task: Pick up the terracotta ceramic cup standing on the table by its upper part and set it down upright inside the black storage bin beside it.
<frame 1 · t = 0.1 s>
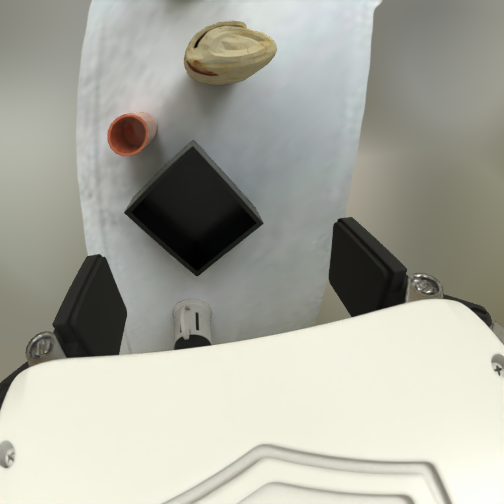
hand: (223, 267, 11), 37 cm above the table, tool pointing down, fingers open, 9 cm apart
cup: (139, 129, 39), on the table
black storage bin: (194, 202, 47), on the table
food model: (218, 69, 37), on the table
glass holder: (189, 304, 59), on the table
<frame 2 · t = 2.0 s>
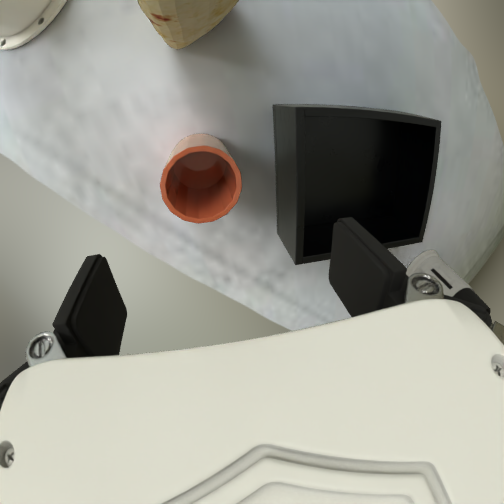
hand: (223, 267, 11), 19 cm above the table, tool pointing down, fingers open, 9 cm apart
cup: (199, 162, 26), on the table
black storage bin: (344, 167, 30), on the table
food model: (197, 12, 18), on the table
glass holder: (414, 265, 41), on the table
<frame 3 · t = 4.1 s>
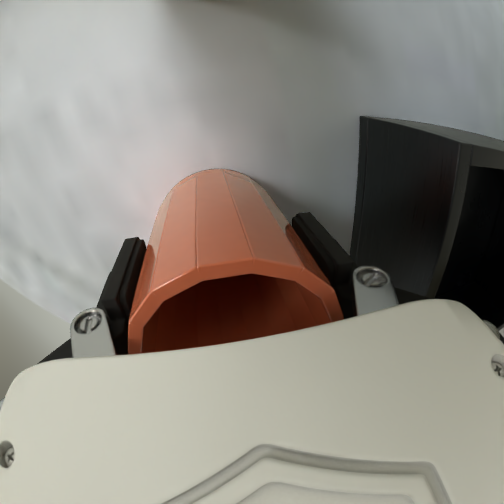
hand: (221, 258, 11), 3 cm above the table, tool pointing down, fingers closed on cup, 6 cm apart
cup: (216, 226, 14), on the table, touching gripper
black storage bin: (442, 225, 17), on the table
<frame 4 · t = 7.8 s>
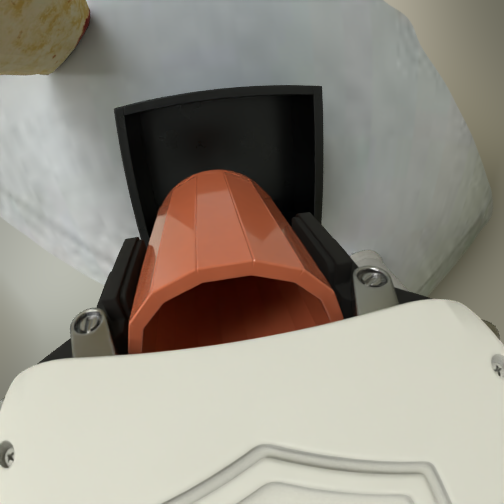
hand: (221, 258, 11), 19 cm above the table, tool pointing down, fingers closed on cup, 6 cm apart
cup: (216, 227, 14), point 16 cm above the table, touching gripper
black storage bin: (221, 160, 28), on the table
food model: (68, 36, 17), on the table
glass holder: (346, 268, 39), on the table
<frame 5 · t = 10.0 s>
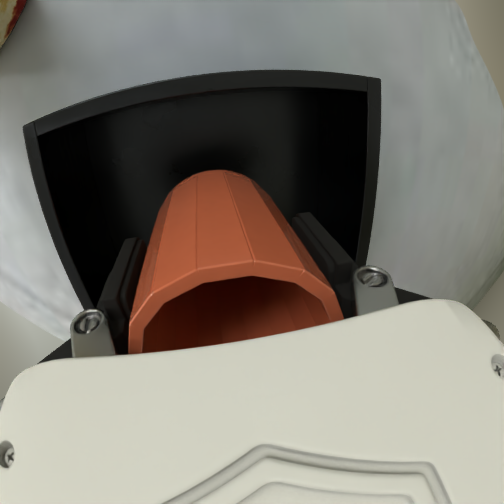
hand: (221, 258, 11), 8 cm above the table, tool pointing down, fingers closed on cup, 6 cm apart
cup: (216, 227, 14), point 5 cm above the table, touching gripper
black storage bin: (209, 191, 19), on the table
food model: (3, 24, 7), on the table
when the fingers open (4 cm above the table, at t = 11.6 s): cup stays where it is, resting on black storage bin.
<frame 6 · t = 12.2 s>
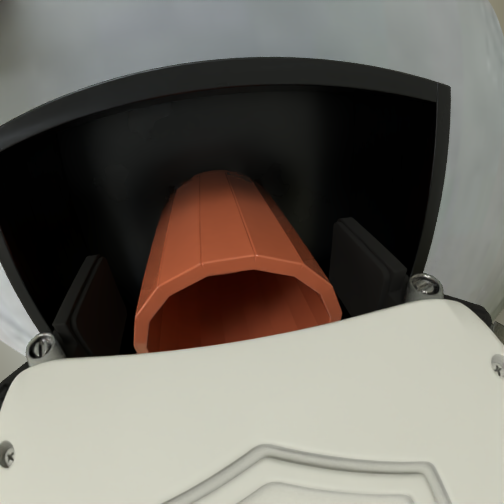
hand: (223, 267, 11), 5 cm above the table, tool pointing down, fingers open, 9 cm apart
cup: (218, 226, 14), point 1 cm above the table, touching black storage bin
black storage bin: (216, 219, 15), on the table
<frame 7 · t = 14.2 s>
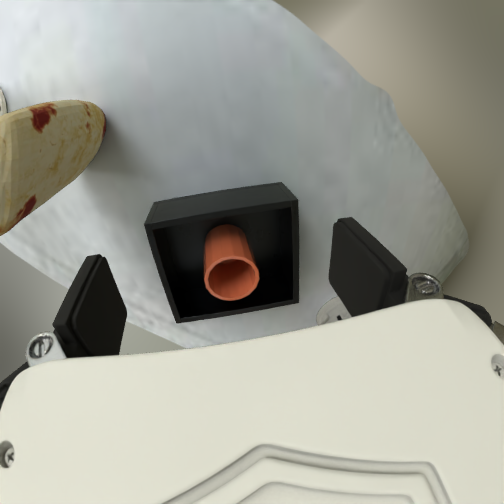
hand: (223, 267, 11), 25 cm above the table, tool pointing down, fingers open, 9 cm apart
cup: (226, 244, 37), point 1 cm above the table, touching black storage bin
black storage bin: (225, 241, 38), on the table
food model: (88, 134, 28), on the table
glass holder: (327, 309, 48), on the table
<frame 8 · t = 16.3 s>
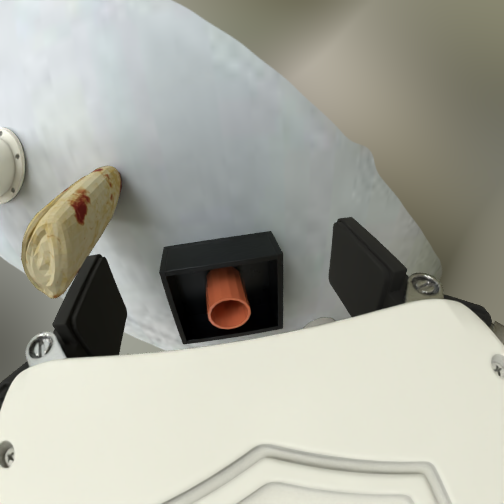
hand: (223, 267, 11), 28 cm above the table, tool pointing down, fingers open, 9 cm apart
cup: (223, 280, 45), point 1 cm above the table, touching black storage bin
black storage bin: (223, 277, 46), on the table
food model: (105, 188, 35), on the table
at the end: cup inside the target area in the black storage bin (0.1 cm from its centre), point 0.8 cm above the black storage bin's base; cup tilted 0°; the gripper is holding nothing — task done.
